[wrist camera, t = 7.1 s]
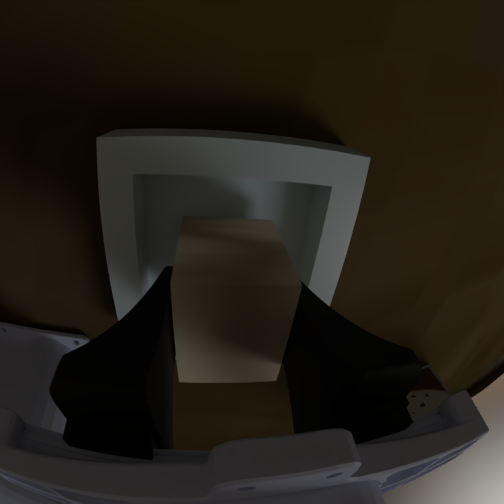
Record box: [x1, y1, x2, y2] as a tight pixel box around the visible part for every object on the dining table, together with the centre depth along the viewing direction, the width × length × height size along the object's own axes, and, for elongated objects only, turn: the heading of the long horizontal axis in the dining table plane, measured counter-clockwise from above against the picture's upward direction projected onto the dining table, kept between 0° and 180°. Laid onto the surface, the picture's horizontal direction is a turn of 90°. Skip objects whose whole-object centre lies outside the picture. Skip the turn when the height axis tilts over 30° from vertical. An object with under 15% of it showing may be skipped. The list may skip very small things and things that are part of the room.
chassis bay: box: [97, 128, 370, 359], centre depth 14 cm, size 11×12×2 cm
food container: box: [406, 365, 452, 418], centre depth 22 cm, size 12×6×10 cm, turn 93°
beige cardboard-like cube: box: [170, 216, 302, 383], centre depth 12 cm, size 4×5×5 cm
